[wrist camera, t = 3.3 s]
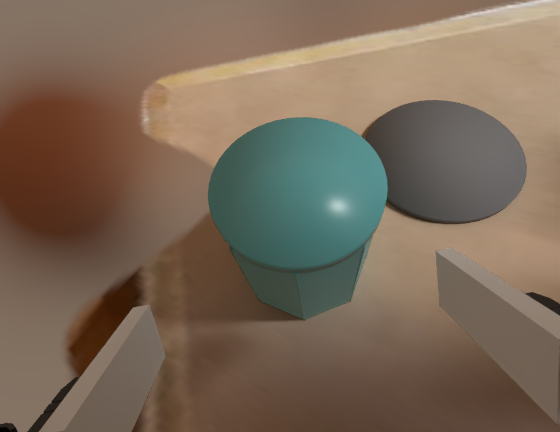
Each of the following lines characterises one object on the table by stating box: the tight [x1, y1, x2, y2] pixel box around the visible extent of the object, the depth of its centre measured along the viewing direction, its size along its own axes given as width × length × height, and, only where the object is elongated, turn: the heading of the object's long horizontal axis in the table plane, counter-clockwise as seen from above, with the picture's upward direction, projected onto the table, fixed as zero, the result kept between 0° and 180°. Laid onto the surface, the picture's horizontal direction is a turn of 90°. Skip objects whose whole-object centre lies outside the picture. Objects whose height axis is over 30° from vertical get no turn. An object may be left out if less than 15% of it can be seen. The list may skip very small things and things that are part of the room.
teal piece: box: [208, 117, 388, 320], centre depth 23 cm, size 10×10×11 cm
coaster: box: [365, 100, 527, 224], centre depth 31 cm, size 14×14×1 cm
